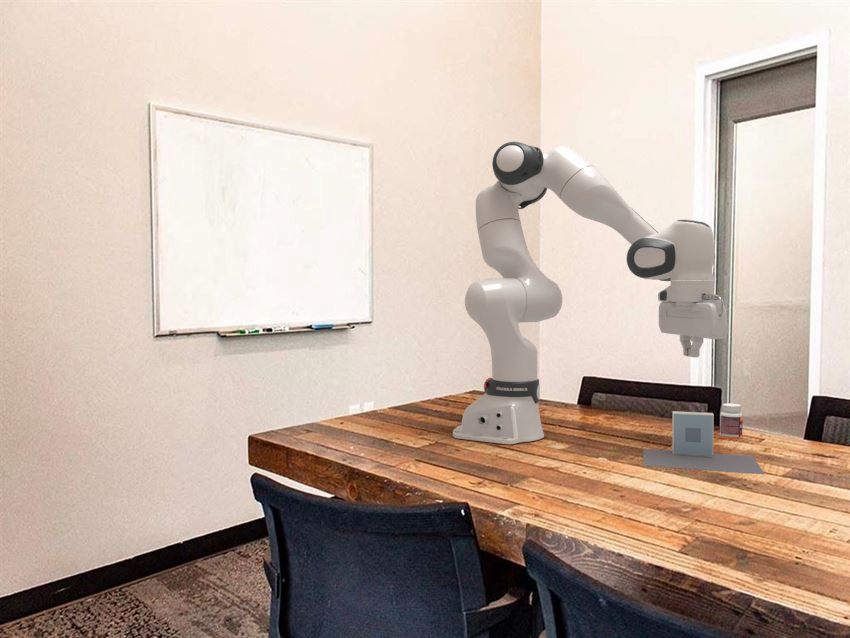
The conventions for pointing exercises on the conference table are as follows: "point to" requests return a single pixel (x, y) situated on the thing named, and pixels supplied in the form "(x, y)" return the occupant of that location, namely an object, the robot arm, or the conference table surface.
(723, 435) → the pill bottle
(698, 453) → the tile
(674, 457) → the mat
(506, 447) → the conference table surface
